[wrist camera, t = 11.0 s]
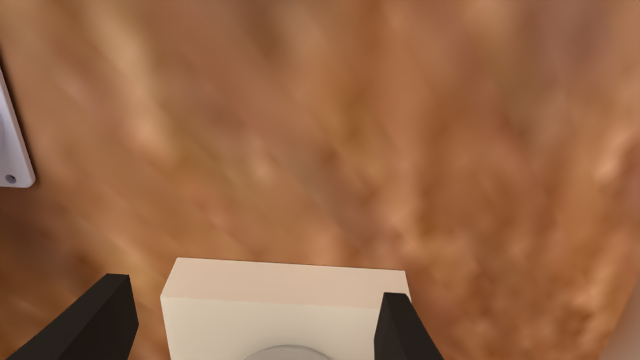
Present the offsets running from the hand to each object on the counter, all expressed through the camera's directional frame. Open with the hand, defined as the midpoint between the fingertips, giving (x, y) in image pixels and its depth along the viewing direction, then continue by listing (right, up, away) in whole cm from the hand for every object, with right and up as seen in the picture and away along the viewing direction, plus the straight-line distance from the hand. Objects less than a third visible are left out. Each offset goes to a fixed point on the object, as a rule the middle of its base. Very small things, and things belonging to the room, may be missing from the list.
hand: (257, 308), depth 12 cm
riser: (0, -7, +16) cm, 17 cm away
